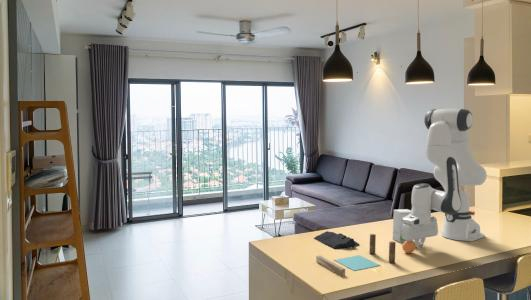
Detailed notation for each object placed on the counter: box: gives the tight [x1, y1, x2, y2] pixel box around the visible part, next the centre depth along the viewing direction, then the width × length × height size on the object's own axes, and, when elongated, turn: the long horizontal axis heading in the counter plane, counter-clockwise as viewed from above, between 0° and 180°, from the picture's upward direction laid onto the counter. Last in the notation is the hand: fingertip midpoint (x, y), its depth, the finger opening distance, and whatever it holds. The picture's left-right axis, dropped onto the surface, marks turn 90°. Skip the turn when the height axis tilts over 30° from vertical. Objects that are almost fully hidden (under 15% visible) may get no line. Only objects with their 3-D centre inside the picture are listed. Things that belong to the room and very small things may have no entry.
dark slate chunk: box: [313, 230, 360, 251], centre depth 211 cm, size 15×22×5 cm
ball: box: [401, 241, 416, 254], centre depth 194 cm, size 6×6×6 cm
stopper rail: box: [315, 255, 346, 277], centre depth 175 cm, size 2×18×2 cm, turn 26°
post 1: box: [369, 233, 377, 256], centre depth 193 cm, size 3×3×9 cm
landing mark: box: [333, 254, 381, 272], centre depth 181 cm, size 14×14×1 cm
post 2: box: [388, 241, 397, 265], centre depth 182 cm, size 3×3×9 cm
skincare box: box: [392, 208, 414, 243], centre depth 214 cm, size 8×7×16 cm
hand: (419, 247), depth 197 cm, fingers closed
